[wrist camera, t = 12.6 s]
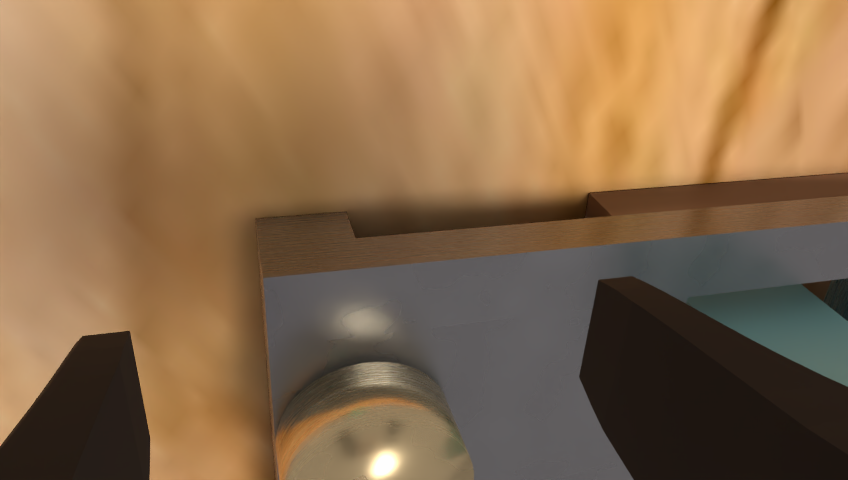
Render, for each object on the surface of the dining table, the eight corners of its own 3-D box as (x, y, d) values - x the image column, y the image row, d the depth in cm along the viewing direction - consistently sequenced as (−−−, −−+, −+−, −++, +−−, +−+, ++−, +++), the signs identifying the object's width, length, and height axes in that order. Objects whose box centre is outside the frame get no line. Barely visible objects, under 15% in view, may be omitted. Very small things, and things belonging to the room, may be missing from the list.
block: (739, 360, 28) (933, 561, 21) (635, 376, 27) (799, 593, 20) (772, 261, 26) (1003, 446, 19) (660, 273, 25) (857, 475, 17)
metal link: (787, 410, 31) (887, 515, 26) (276, 496, 26) (292, 643, 21) (882, 170, 25) (1030, 250, 21) (255, 219, 20) (270, 339, 16)
